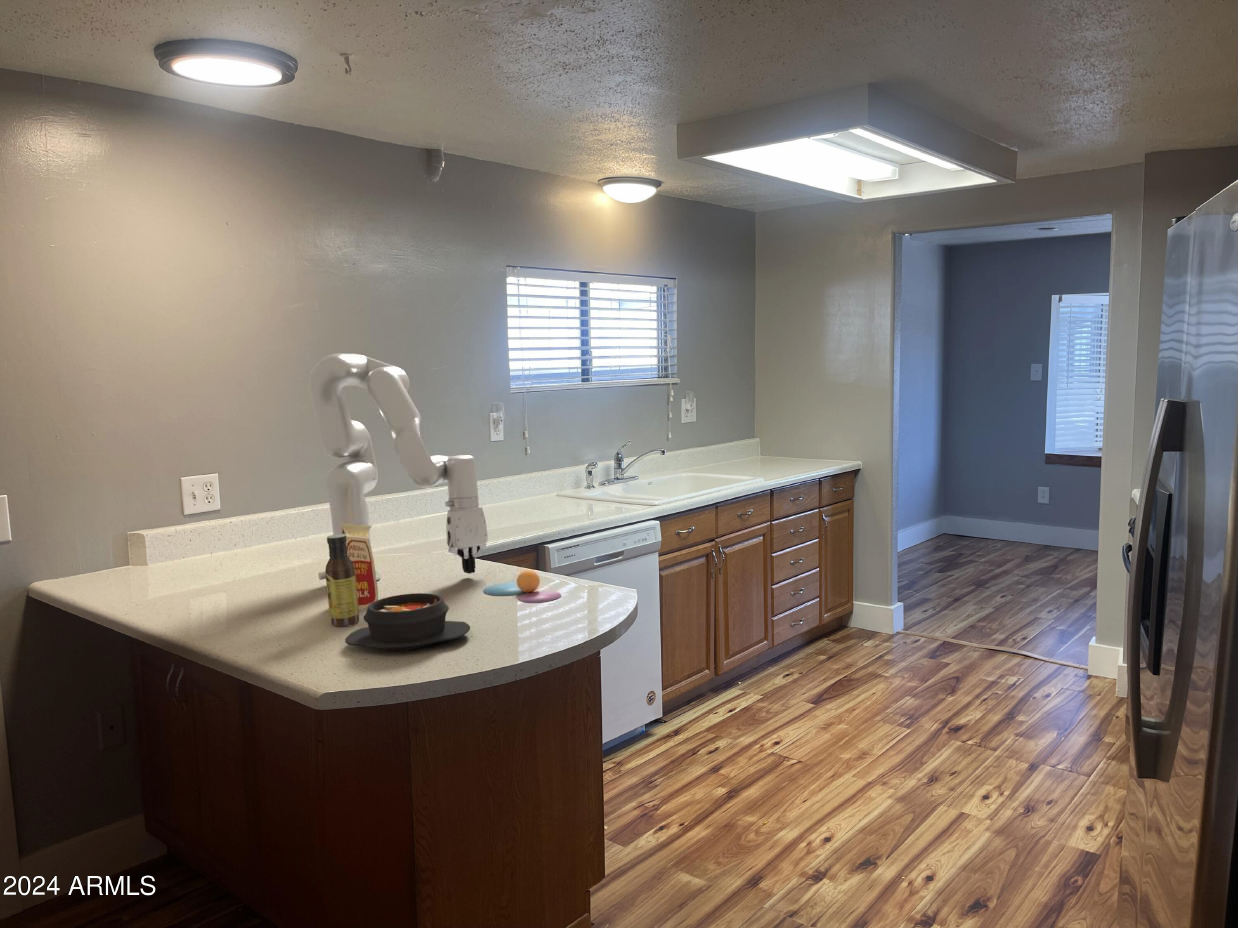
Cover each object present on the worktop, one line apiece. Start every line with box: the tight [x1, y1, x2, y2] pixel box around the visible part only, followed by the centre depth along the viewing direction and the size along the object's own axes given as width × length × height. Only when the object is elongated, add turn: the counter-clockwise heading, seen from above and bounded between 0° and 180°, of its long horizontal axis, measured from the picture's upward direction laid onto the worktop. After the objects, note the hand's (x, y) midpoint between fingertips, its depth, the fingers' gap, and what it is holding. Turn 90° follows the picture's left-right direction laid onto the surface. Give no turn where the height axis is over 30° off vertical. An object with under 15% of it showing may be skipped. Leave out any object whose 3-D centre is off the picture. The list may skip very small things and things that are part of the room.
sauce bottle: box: [324, 534, 360, 628], centre depth 203 cm, size 6×6×20 cm
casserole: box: [344, 592, 471, 651], centre depth 187 cm, size 25×19×8 cm
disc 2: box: [518, 590, 562, 604], centre depth 218 cm, size 10×10×1 cm
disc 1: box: [483, 581, 527, 597], centre depth 227 cm, size 13×13×1 cm
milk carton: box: [341, 523, 379, 609], centre depth 220 cm, size 9×9×20 cm
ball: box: [516, 569, 541, 593], centre depth 222 cm, size 6×6×6 cm
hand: (469, 572), depth 241 cm, fingers closed
